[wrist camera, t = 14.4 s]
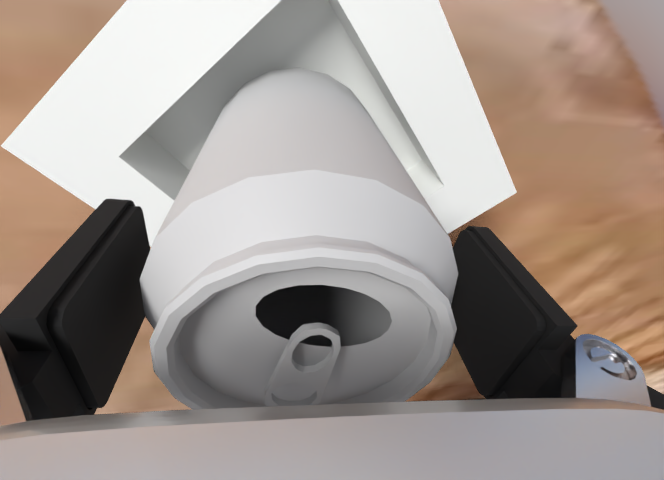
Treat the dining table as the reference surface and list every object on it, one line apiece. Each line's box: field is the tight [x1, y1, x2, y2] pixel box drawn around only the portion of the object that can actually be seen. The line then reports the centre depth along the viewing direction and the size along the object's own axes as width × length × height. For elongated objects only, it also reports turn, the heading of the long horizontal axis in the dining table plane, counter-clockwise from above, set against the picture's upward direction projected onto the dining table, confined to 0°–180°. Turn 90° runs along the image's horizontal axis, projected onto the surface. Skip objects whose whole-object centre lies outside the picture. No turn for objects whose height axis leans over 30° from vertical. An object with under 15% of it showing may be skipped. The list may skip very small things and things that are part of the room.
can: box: [140, 67, 458, 410], centre depth 11 cm, size 8×8×12 cm
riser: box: [1, 0, 517, 247], centre depth 16 cm, size 15×15×6 cm
